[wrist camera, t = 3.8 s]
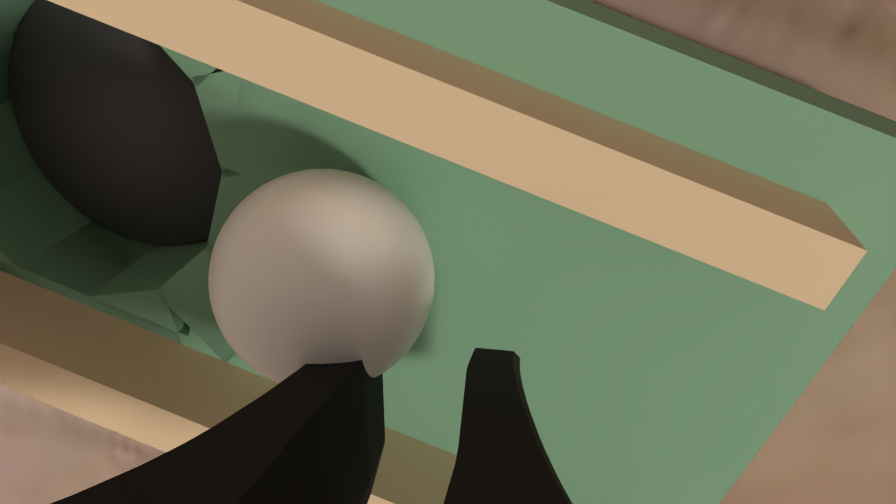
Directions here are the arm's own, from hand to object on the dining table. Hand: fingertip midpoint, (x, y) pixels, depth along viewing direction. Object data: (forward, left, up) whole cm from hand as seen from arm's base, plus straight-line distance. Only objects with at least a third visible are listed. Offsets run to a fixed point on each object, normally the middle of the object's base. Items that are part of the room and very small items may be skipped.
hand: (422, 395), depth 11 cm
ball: (+2, -1, 0) cm, 2 cm away
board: (+3, -1, -5) cm, 6 cm away
